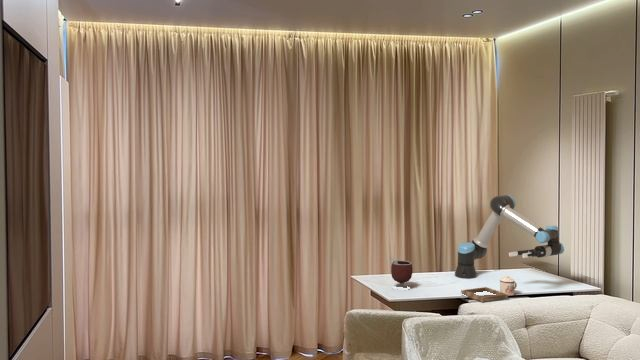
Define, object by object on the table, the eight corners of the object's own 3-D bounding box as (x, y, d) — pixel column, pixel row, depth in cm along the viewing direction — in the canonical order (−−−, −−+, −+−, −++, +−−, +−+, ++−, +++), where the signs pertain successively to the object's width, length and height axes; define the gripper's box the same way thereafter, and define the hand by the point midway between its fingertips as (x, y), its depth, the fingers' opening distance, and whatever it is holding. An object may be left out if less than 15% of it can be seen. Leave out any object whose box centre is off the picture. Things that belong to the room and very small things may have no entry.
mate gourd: (415, 287, 398) (416, 257, 397) (406, 292, 387) (406, 261, 385) (394, 284, 407) (395, 255, 405) (384, 288, 395) (385, 258, 394)
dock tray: (461, 294, 381) (461, 290, 381) (485, 291, 390) (485, 287, 389) (482, 302, 363) (482, 298, 363) (507, 299, 372) (508, 294, 371)
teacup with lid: (506, 296, 378) (506, 278, 377) (496, 292, 387) (497, 275, 386) (521, 294, 383) (521, 276, 382) (511, 291, 391) (511, 273, 391)
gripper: (556, 258, 385) (529, 262, 378) (530, 255, 409) (504, 259, 402) (555, 246, 386) (528, 250, 378) (529, 244, 409) (503, 248, 402)
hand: (515, 255), depth 390 cm, fingers open, 13 cm apart
